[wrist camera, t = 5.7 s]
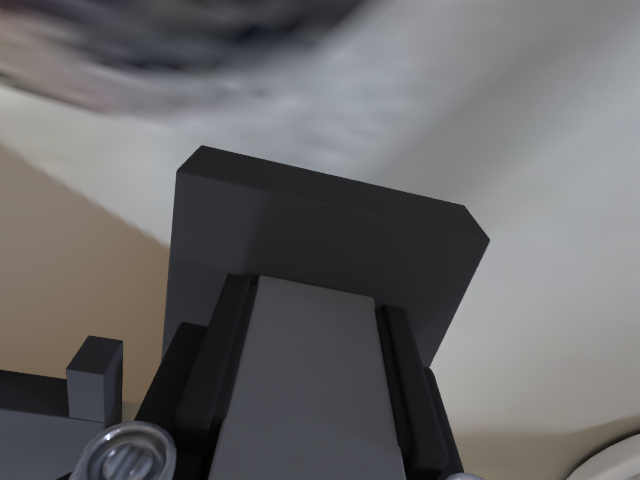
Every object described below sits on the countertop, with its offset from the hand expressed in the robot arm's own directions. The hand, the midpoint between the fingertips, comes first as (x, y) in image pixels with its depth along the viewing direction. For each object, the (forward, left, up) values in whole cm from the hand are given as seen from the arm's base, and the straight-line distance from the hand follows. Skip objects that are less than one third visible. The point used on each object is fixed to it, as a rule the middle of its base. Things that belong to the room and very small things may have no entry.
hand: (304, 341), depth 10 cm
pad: (0, +1, -2) cm, 3 cm away
